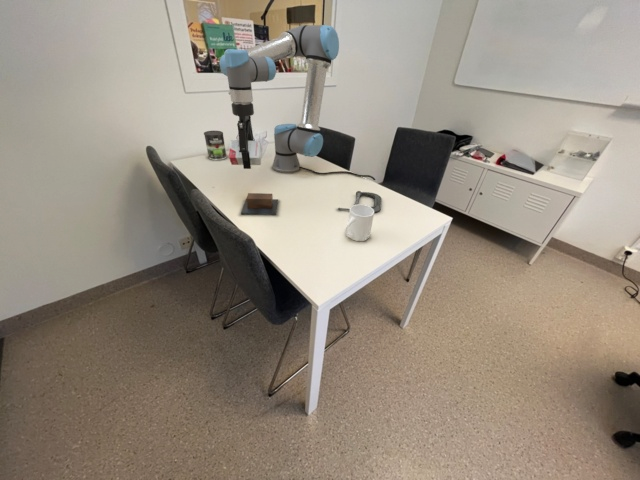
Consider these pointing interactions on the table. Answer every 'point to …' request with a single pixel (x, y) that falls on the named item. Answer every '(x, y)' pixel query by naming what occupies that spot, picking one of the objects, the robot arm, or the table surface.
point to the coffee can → (215, 145)
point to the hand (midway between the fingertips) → (249, 163)
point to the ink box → (253, 150)
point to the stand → (260, 204)
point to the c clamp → (377, 198)
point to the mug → (359, 222)
